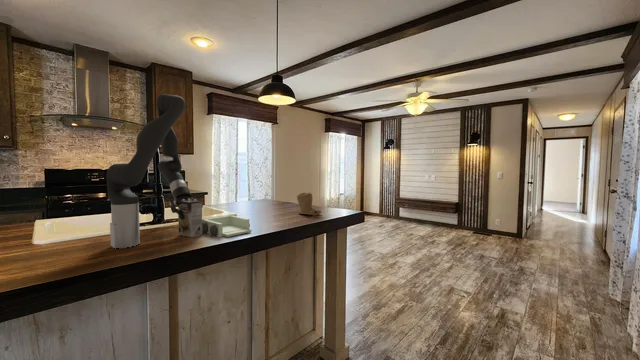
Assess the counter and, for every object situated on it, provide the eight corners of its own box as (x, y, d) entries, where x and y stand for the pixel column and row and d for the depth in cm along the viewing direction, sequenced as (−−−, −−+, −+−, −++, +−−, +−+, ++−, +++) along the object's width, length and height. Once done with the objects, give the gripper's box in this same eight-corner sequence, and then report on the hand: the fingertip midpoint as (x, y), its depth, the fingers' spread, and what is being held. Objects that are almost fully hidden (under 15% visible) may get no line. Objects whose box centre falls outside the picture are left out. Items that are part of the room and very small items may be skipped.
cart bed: (221, 239, 124) (221, 225, 123) (199, 231, 137) (199, 219, 137) (256, 231, 138) (256, 219, 137) (233, 225, 151) (233, 214, 151)
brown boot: (293, 214, 188) (293, 192, 187) (305, 212, 197) (305, 191, 196) (309, 217, 178) (309, 193, 177) (321, 214, 187) (322, 192, 186)
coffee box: (177, 235, 130) (177, 201, 129) (190, 232, 136) (189, 199, 135) (191, 237, 126) (190, 202, 125) (202, 234, 132) (202, 200, 131)
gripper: (166, 186, 129) (178, 214, 122) (197, 185, 140) (209, 210, 133) (162, 197, 133) (173, 224, 126) (192, 194, 144) (203, 220, 137)
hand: (191, 217), depth 130 cm, fingers closed on coffee box, 7 cm apart
